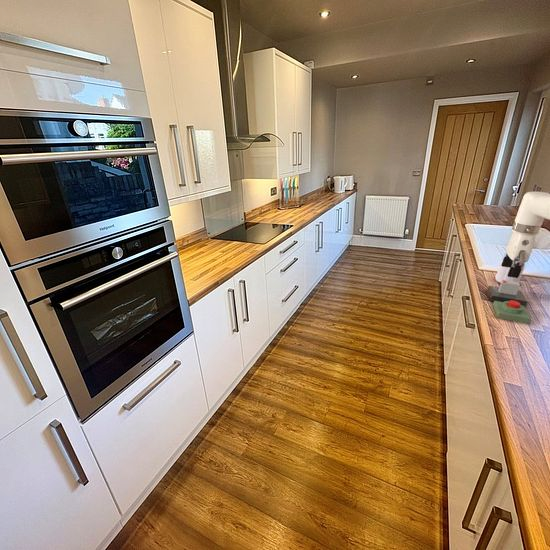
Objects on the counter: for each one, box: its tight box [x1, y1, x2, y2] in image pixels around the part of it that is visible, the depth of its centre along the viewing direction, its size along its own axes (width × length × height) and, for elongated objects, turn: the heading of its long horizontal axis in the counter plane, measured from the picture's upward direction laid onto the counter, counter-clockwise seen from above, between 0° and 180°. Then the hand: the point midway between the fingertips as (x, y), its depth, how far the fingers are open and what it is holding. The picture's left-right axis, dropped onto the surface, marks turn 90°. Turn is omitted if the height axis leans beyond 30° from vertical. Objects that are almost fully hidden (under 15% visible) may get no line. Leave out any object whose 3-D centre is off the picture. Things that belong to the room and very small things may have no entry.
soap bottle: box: [494, 258, 526, 284], centre depth 135 cm, size 9×9×25 cm
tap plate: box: [486, 285, 528, 308], centre depth 125 cm, size 12×10×3 cm
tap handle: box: [498, 280, 521, 295], centre depth 123 cm, size 6×2×5 cm, turn 64°
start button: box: [508, 300, 520, 308], centre depth 114 cm, size 4×4×2 cm
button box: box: [492, 301, 532, 324], centre depth 115 cm, size 10×10×4 cm
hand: (509, 271), depth 110 cm, fingers open, 9 cm apart
